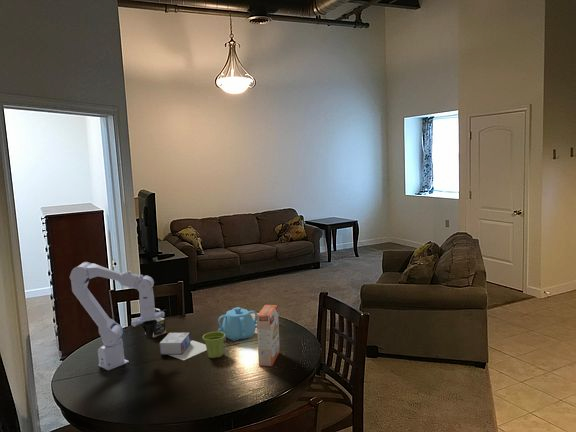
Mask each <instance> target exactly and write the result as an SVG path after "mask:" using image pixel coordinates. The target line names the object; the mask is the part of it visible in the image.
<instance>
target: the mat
mask: <svg viewBox="0 0 576 432" xmlns="http://www.w3.org/2000/svg"><path fill="white" fill-rule="evenodd" d="M204 352H207V349H206V344H205V343H202V342H199V341H196V340H194V339H193V340H192V339H191V340H190V344H189V346H188V347H187V348H186V350H185V351H184V353H183V354H166V355H168V356H170V357H173V358H176V359H178V360H180V361H187V360H189V359H190V358H194V357H196V356H197V355H198V356H199V355H200V354H202V353H204Z"/></svg>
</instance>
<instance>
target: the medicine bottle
mask: <svg viewBox="0 0 576 432" xmlns="http://www.w3.org/2000/svg"><path fill="white" fill-rule="evenodd" d="M157 312H161V309H160V308H156V307H155V313H157ZM155 320H157V324H156V326H155V329H154V332H153V338H156V337H159V336H161V335H164V334H166V333H167V328H166V326H167V325H166V318H164V317H160V318H157V319H155ZM144 334H145V335H146V333H145V332H144Z"/></svg>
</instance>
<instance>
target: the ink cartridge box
mask: <svg viewBox="0 0 576 432" xmlns="http://www.w3.org/2000/svg"><path fill="white" fill-rule="evenodd" d="M190 341H191V333H190V332H169V333H168V334H167V335H166V336H165V337H163V339H162V340H160V342H159V349H160V350H159V351H160V355H167V354H183V353H184V351H185V350H186V348H187V347H188V346H189V344H190Z"/></svg>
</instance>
